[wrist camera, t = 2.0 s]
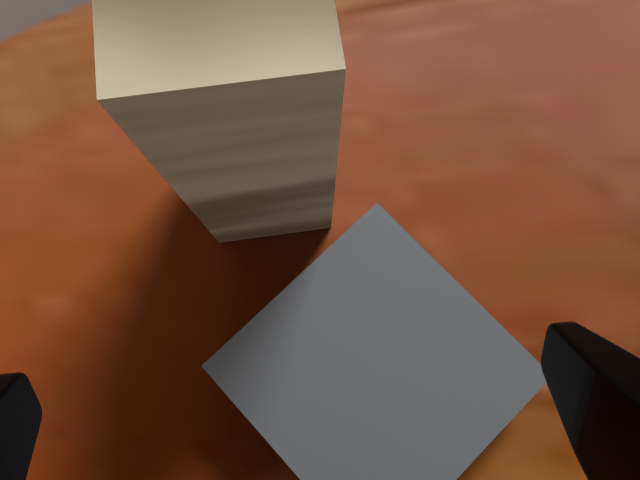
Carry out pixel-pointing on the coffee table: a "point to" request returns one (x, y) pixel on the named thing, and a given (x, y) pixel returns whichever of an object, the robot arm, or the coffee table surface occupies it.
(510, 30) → the coffee table surface
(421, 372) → the pedestal
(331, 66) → the beige rectangular block
